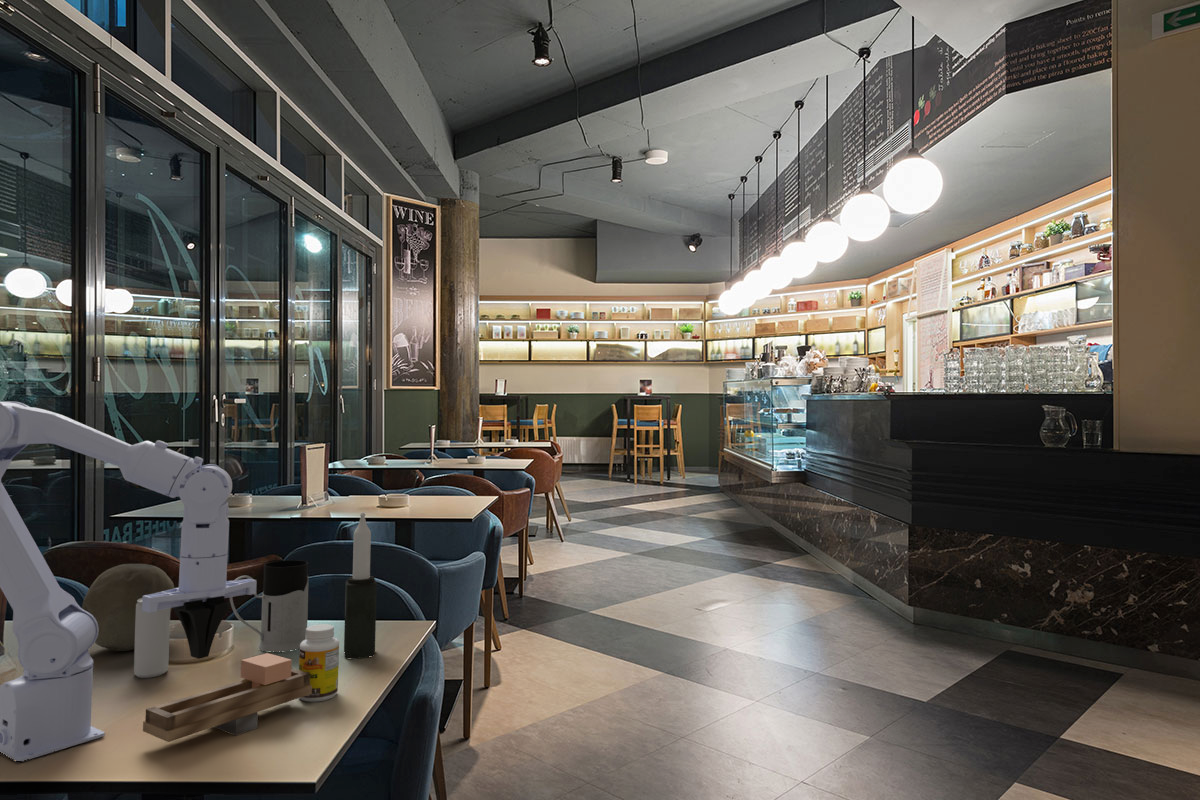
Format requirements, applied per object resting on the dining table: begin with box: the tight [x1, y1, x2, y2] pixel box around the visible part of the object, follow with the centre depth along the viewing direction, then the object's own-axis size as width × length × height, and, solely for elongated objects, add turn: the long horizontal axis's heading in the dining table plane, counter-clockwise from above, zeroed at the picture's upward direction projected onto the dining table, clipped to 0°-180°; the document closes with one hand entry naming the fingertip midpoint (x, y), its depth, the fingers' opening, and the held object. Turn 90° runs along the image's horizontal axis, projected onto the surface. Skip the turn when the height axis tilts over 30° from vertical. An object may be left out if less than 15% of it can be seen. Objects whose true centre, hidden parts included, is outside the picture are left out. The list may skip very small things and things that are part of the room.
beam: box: [142, 667, 312, 743], centre depth 99 cm, size 20×6×5 cm, turn 148°
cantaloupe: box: [81, 563, 175, 652], centre depth 134 cm, size 14×14×15 cm
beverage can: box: [133, 598, 171, 679], centre depth 120 cm, size 5×5×12 cm
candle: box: [343, 512, 378, 659], centre depth 132 cm, size 5×5×25 cm
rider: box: [240, 652, 293, 688], centre depth 104 cm, size 4×6×4 cm
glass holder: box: [229, 559, 309, 653], centre depth 135 cm, size 9×14×15 cm, turn 137°
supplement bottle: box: [298, 623, 340, 703], centre depth 111 cm, size 6×6×10 cm
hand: (199, 656), depth 100 cm, fingers closed
